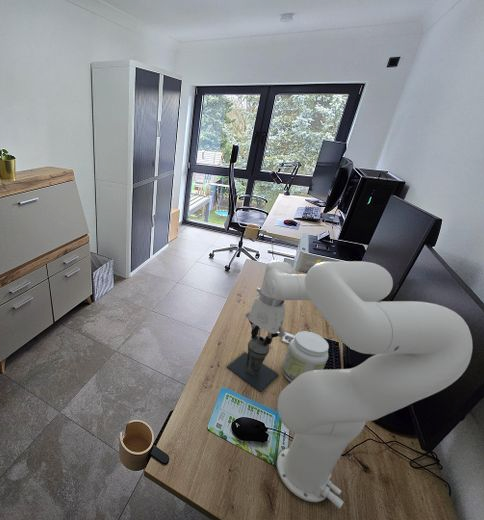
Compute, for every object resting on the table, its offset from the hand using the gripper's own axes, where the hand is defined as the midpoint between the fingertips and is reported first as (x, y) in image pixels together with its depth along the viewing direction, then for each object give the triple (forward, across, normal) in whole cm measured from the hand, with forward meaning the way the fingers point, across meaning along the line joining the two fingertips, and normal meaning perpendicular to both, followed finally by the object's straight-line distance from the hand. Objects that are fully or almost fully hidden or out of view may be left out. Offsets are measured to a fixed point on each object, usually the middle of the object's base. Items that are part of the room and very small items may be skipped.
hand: (260, 339), depth 102 cm
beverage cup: (+15, 0, 0) cm, 15 cm away
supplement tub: (+16, +12, +12) cm, 23 cm away
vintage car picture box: (+16, +5, +30) cm, 34 cm away
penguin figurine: (+16, -13, +83) cm, 85 cm away
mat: (+16, 0, 0) cm, 16 cm away
